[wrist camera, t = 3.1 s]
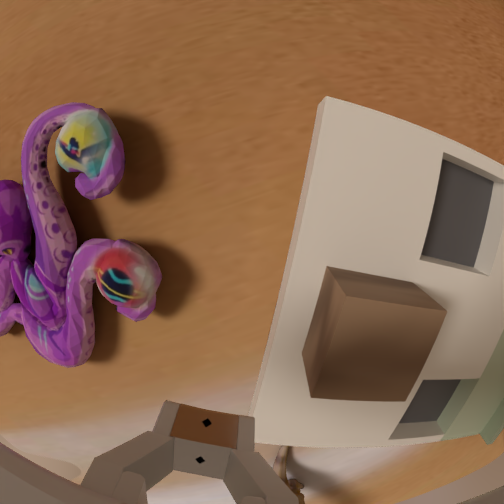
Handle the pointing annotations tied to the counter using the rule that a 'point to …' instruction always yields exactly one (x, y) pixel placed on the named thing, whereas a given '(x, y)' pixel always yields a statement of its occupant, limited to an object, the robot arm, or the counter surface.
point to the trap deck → (397, 267)
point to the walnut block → (369, 337)
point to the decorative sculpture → (67, 240)
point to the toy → (281, 472)
